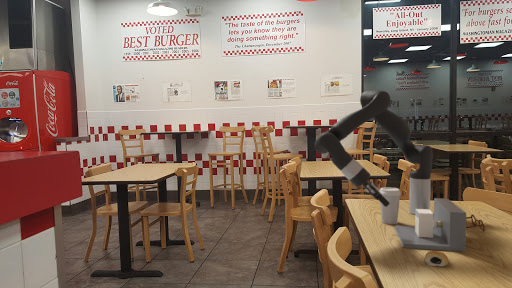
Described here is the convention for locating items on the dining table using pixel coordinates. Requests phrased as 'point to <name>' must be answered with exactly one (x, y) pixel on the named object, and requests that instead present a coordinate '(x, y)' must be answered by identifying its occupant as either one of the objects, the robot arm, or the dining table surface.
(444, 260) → the pastry
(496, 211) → the dining table surface
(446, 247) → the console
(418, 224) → the white box
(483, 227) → the glasses
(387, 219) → the coffee cup
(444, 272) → the dining table surface
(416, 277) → the dining table surface
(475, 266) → the dining table surface
